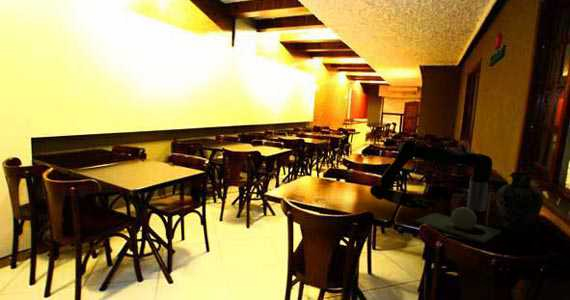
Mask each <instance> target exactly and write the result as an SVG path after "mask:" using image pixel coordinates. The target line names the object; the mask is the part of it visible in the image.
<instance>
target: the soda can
mask: <svg viewBox="0 0 570 300" xmlns="http://www.w3.org/2000/svg"><path fill="white" fill-rule="evenodd" d="M459 207H466V208H467V196H466V195H465V194H463V193H460V192H459V193H458V192H455V193H453V195H452V196H451V202H450V214H452V212H453V211H454V210H455V209H457V208H459Z"/></svg>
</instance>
